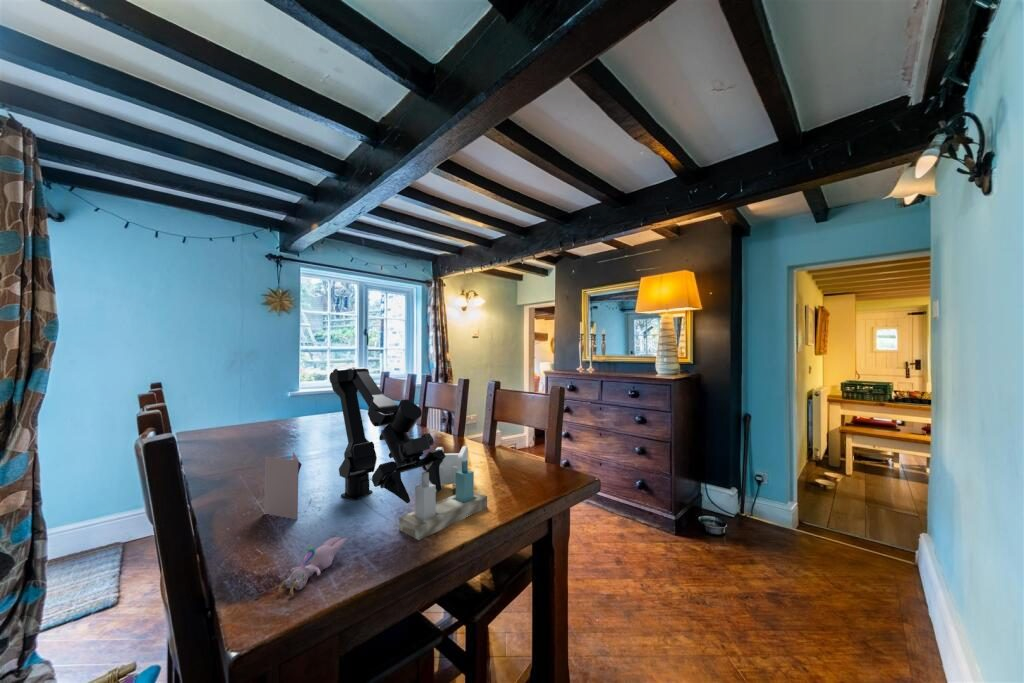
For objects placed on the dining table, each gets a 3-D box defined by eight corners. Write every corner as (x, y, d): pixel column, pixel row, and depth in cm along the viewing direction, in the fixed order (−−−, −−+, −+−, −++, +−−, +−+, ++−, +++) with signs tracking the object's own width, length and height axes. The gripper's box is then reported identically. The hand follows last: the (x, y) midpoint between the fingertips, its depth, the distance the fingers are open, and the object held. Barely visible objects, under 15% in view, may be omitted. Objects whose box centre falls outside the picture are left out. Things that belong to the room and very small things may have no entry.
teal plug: (464, 513, 95) (464, 463, 95) (455, 510, 97) (455, 461, 97) (473, 509, 97) (473, 460, 98) (465, 505, 99) (464, 458, 100)
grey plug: (415, 528, 87) (415, 473, 87) (426, 523, 89) (426, 470, 90) (423, 532, 84) (424, 476, 85) (435, 527, 87) (435, 472, 88)
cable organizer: (462, 497, 106) (462, 457, 106) (426, 497, 106) (426, 457, 106) (468, 479, 121) (468, 444, 121) (436, 479, 121) (436, 444, 121)
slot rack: (419, 540, 81) (419, 526, 81) (399, 529, 86) (399, 517, 86) (487, 507, 98) (487, 496, 98) (467, 500, 103) (467, 489, 103)
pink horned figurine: (301, 606, 62) (357, 547, 76) (297, 574, 61) (354, 520, 75) (271, 600, 63) (332, 543, 78) (267, 569, 62) (329, 517, 77)
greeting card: (301, 519, 92) (302, 459, 92) (266, 527, 87) (267, 465, 88) (295, 504, 101) (296, 450, 102) (263, 511, 96) (264, 455, 97)
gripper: (378, 430, 84) (406, 489, 77) (441, 419, 98) (469, 467, 91) (361, 458, 89) (385, 516, 81) (423, 443, 103) (448, 491, 96)
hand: (425, 496), depth 87 cm, fingers open, 9 cm apart
